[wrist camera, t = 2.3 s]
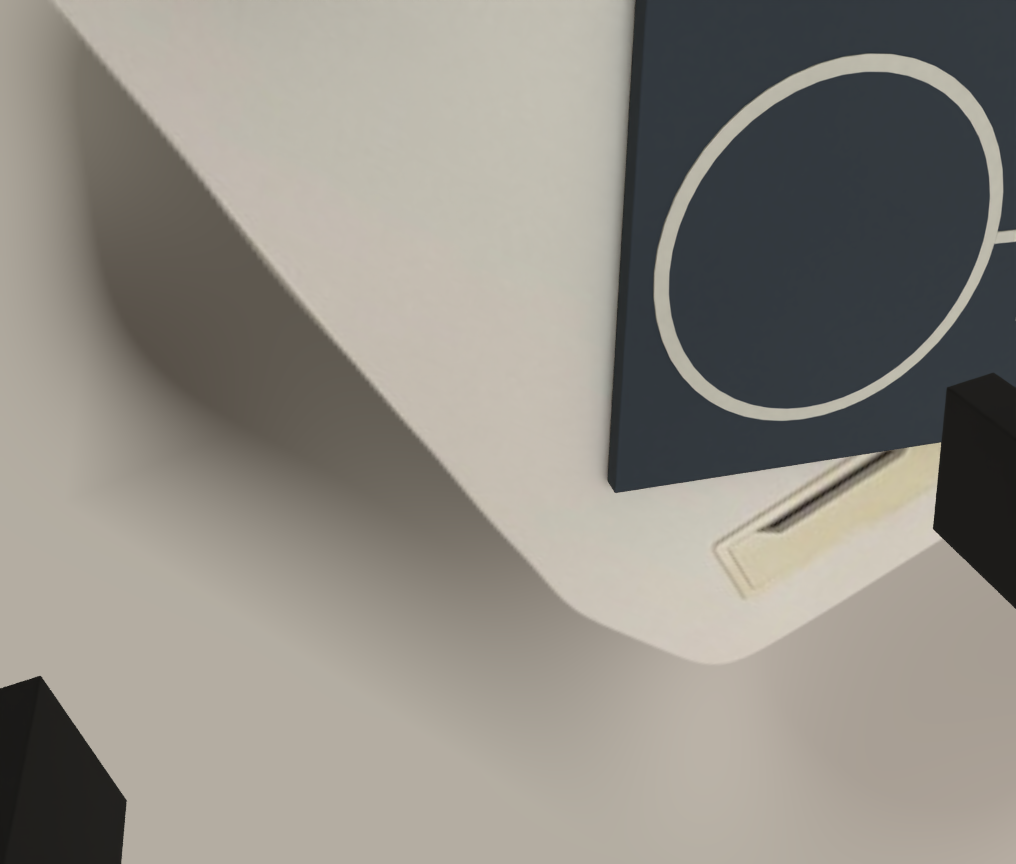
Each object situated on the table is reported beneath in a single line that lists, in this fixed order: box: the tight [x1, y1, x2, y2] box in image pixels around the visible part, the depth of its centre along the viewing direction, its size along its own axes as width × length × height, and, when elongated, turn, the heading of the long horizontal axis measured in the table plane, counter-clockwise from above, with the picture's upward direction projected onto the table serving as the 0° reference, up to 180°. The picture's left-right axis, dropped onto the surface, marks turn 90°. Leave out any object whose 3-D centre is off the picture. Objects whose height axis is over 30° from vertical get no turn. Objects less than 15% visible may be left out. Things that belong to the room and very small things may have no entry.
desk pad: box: [608, 0, 1016, 493], centre depth 39 cm, size 24×20×1 cm
